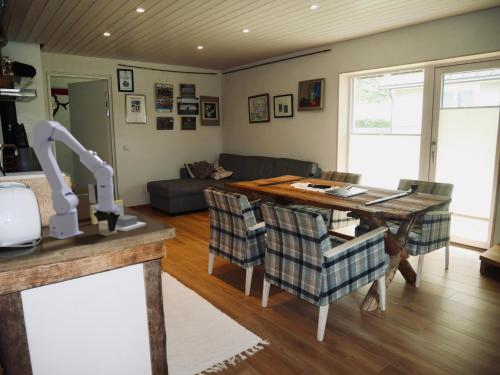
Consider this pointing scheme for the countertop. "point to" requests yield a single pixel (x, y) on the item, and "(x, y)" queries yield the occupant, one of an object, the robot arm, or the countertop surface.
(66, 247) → the countertop surface
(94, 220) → the candy box
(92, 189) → the coffee box
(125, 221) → the white grey square pedestal
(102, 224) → the birch block
